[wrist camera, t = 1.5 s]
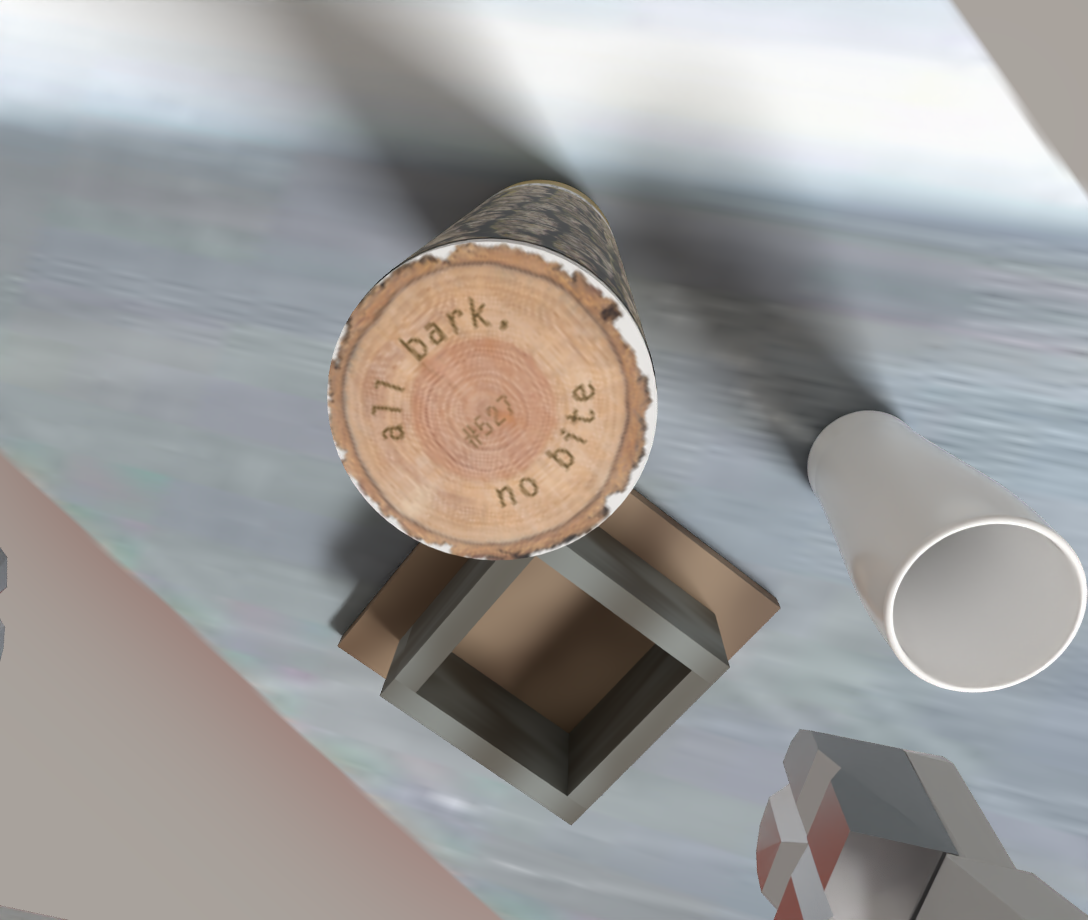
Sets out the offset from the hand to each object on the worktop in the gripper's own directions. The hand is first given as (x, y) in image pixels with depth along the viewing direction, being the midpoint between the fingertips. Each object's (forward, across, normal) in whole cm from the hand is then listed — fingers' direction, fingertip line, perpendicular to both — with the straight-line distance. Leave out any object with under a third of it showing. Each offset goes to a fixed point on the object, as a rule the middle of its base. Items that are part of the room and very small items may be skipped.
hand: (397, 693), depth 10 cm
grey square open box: (+35, -5, +18) cm, 40 cm away
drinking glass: (+36, -17, +6) cm, 40 cm away
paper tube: (+35, 0, 0) cm, 35 cm away
